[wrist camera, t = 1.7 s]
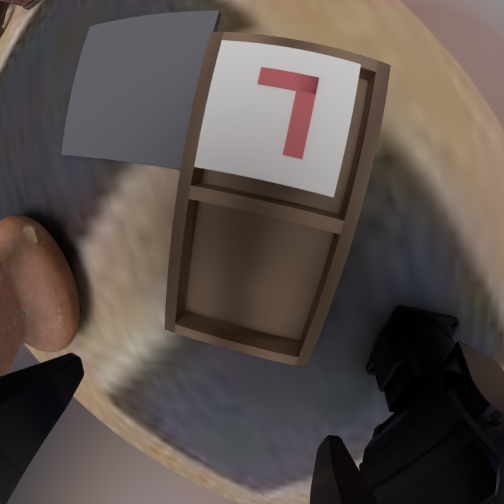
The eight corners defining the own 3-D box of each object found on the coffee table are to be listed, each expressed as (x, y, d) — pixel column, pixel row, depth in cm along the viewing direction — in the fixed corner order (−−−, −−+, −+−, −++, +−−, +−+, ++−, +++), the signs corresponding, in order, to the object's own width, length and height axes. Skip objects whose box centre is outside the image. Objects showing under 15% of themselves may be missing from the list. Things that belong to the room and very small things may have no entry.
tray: (380, 75, 14) (390, 65, 12) (306, 348, 21) (305, 367, 19) (221, 44, 15) (211, 31, 13) (176, 313, 22) (164, 329, 20)
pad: (220, 13, 14) (219, 10, 14) (184, 169, 18) (182, 170, 18) (92, 27, 15) (90, 26, 15) (64, 154, 19) (61, 154, 19)
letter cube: (341, 94, 15) (361, 63, 9) (322, 185, 17) (333, 197, 11) (246, 75, 15) (221, 39, 10) (228, 164, 17) (193, 166, 12)
